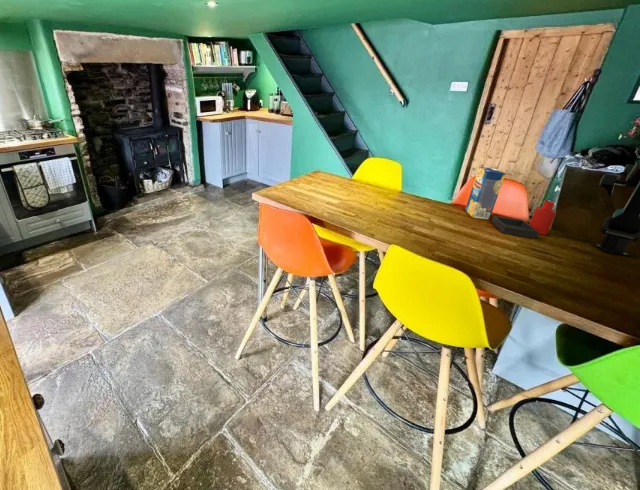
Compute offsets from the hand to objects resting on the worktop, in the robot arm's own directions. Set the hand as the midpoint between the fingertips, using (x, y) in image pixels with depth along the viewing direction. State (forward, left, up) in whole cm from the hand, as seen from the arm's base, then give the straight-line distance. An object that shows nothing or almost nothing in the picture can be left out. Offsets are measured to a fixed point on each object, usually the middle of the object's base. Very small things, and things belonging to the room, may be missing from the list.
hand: (625, 199), depth 129 cm
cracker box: (-5, +53, -15) cm, 55 cm away
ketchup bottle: (-17, +34, -15) cm, 41 cm away
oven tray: (-20, +44, -15) cm, 51 cm away
